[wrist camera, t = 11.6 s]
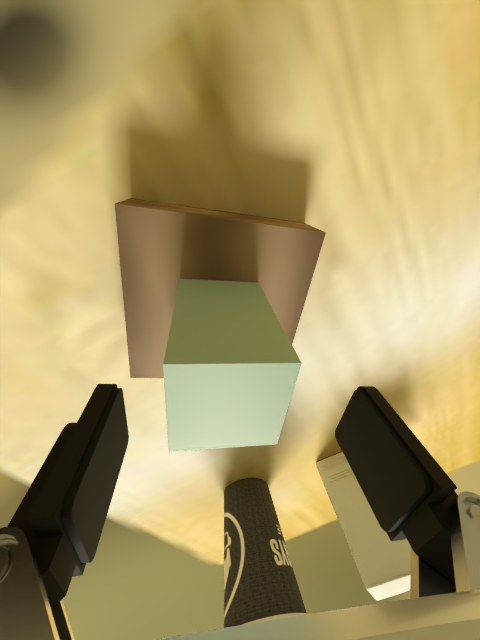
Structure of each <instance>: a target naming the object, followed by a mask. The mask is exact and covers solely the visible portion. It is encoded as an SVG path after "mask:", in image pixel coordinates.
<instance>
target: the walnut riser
mask: <svg viewBox="0 0 480 640" xmlns="http://www.w3.org/2000/svg"><path fill="white" fill-rule="evenodd" d="M115 211H116V222H117V233H118V244H119V255H120V266H121V277H122V288H123V299H124V310H125V321H126V332H127V343H128V354H129V365H130V376H131V378H164V371H163V362H164V357H165V352H166V347H167V342H168V336H169V331H170V326H171V321H172V316H173V310H174V305H175V300H176V295H177V290H178V284H179V279H198V280H218V281H238V282H258V283H259V285H260V286H261V288H262V290H263V292H264V294H265V296H266V298H267V300H268V301H269V303H270V305H271V307H272V309H273V311H274V313H275V314H276V316H277V318H278V320H279V322H280V324H281V326H282V328H283V329H284V331H285V333H286V335H287V337H288V339H289V341H290V343H291V344H292V343H293V339H294V336H295V333H296V329H297V326H298V323H299V319H300V316H301V313H302V310H303V306H304V303H305V300H306V296H307V293H308V290H309V286H310V283H311V280H312V276H313V273H314V270H315V266H316V263H317V260H318V257H319V253H320V250H321V247H322V243H323V240H324V237H325V232H323V231H321V230H319V229H316V228H314V227H312V226H310V225H307V224H305V223H299V222H292V221H285V220H278V219H271V218H264V217H257V216H250V215H243V214H236V213H229V212H223V211H216V210H209V209H202V208H195V207H188V206H181V205H174V204H167V203H160V202H153V201H146V200H139V199H132V198H131V199H128V200H125V201H122V202H118V203H115Z"/></svg>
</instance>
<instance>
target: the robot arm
mask: <svg viewBox="0 0 480 640" xmlns="http://www.w3.org/2000/svg"><path fill="white" fill-rule="evenodd" d="M335 436H336V439H337V441H338V443H339V445H340V447H341V449H342V451H343V453H344V455H345V457H346V459H347V461H348V463H349V465H350V467H351V469H352V471H353V473H354V475H355V477H356V479H357V481H358V483H359V485H360V487H361V489H362V491H363V493H364V495H365V497H366V499H367V501H368V503H369V505H370V507H371V509H372V511H373V513H374V515H375V517H376V519H377V521H378V523H379V525H380V527H381V528H382V529H383V530H384V531H385V532H386V533H387V535H388V537H389V538H390V540H391V541H399V540H405V539H407V540H408V542H409V544H410V546H411V578H410V599H406V600H399V601H393V602H386V603H380V604H373V605H367V606H359V607H353V608H347V609H340V610H334V611H328V612H321V613H315V614H308V615H302V616H295V617H289V618H283V619H276V620H270V621H264V622H257V623H251V624H245V625H239V626H233V627H226V628H220V629H214V630H208V631H202V632H196V633H190V634H183V635H177V636H171V637H166V638H160V639H155V640H480V496H479V495H477V494H474V493H471V492H462V493H460V494H459V495H457V494H456V492H455V491H454V490H455V489H456V488H457V487H456V485H455V484H454V483H453V482H452V481H451V479H450V478H449V477H448V475H447V474H446V473H445V472H444V471H443V469H442V468H441V467H440V466H439V464H438V463H437V462H436V461H435V460H434V458H433V457H432V456H431V455H430V453H429V452H428V451H427V450H426V449H425V447H424V446H423V445H422V444H421V442H420V441H419V440H418V439H417V438H416V436H415V435H414V434H413V433H412V431H411V430H410V429H409V428H408V427H407V425H406V424H405V423H404V422H403V420H402V419H401V418H400V417H399V415H398V414H397V413H396V412H395V411H394V409H393V408H392V407H391V406H390V404H389V403H388V402H387V401H386V400H385V398H384V397H383V396H382V395H381V393H380V392H379V391H378V390H377V389H376V388H375V387H367V386H360V387H358V388H357V390H355V391H354V393H353V395H352V397H351V399H350V401H349V403H348V405H347V407H346V409H345V411H344V414H343V416H342V418H341V420H340V422H339V424H338V426H337V428H336V431H335ZM128 438H129V435H128V427H127V420H126V413H125V405H124V398H123V391H122V388H117V385H116V384H98V385H97V387H96V388H95V390H94V392H93V394H92V396H91V398H90V400H89V401H88V403H87V405H86V407H85V409H84V411H83V413H82V415H81V417H80V418H79V420H78V422H77V423H69V424H67V425H66V426H65V427H64V429H63V430H62V432H61V434H60V435H59V437H58V439H57V441H56V442H55V444H54V446H53V448H52V449H51V451H50V453H49V455H48V456H47V458H46V460H45V462H44V463H43V465H42V467H41V469H40V470H39V472H38V474H37V476H36V477H35V479H34V481H33V483H32V484H31V486H30V488H29V490H28V492H27V493H26V495H25V497H24V499H23V500H22V502H21V504H20V505H19V507H18V509H17V511H16V513H15V514H14V516H13V518H12V519H11V521H10V523H9V525H8V526H7V527H2V528H0V640H74V636H73V633H72V630H71V627H70V624H69V620H68V617H67V614H66V611H65V608H64V605H63V601H62V599H63V598H64V597H65V596H66V593H67V590H68V587H69V584H70V581H71V578H72V576H81V575H82V574H83V572H84V568H85V565H86V563H90V562H92V560H93V558H94V556H95V553H96V550H97V546H98V543H99V540H100V536H101V533H102V529H103V526H104V522H105V519H106V516H107V513H108V509H109V506H110V502H111V499H112V496H113V492H114V489H115V485H116V482H117V479H118V475H119V472H120V468H121V465H122V462H123V458H124V455H125V452H126V448H127V445H128Z"/></svg>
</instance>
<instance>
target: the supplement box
mask: <svg viewBox="0 0 480 640" xmlns="http://www.w3.org/2000/svg"><path fill="white" fill-rule="evenodd" d="M316 466H317V468H318V471H319V473H320V476H321V478H322V481H323V483H324V486H325V488H326V491H327V493H328V495H329V498H330V500H331V503H332V505H333V508H334V510H335V513H336V515H337V518H338V520H339V522H340V525H341V527H342V530H343V532H344V535H345V537H346V540H347V542H348V544H349V547H350V550H351V552H352V554H353V557H354V560H355V562H356V564H357V567H358V570H359V572H360V575H361V577H362V579H363V582H364V585H365V587H366V589H367V590H368V591H369V593H370V594H371V595H372V596H373V597H374V598H375V600H376V601H377V600H381V599H385V598H388V597H391V596H394V595H397V594H400V593H403V592H406V591H408V590H410V578H411V546H410V544H409V542H408V540H407V539H405V540H399V541H391V540H390V538H389V537H388V535H387V533H386V532H385V531H384V530H383V529H382V528H381V527H380V525H379V523H378V521H377V519H376V517H375V515H374V513H373V511H372V509H371V507H370V505H369V503H368V501H367V499H366V497H365V495H364V493H363V491H362V489H361V487H360V485H359V483H358V481H357V479H356V477H355V475H354V473H353V471H352V469H351V467H350V465H349V463H348V461H347V459H346V457H345V455H344V453H343V452H341V453H338V454H335V455H333V456H330V457H328V458H326V459H323V460H320V461H318V462H317V463H316Z"/></svg>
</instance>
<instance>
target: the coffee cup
mask: <svg viewBox="0 0 480 640" xmlns="http://www.w3.org/2000/svg"><path fill="white" fill-rule="evenodd" d="M302 615H308V614H307V613H306V610H305V607H304V604H303V600H302V597H301V594H300V590H299V587H298V584H297V581H296V578H295V574H294V571H293V568H292V564H291V561H290V558H289V554H288V551H287V548H286V544H285V541H284V538H283V534H282V531H281V528H280V525H279V521H278V518H277V515H276V511H275V508H274V505H273V501H272V498H271V495H270V491H269V488H268V485H267V483H266V482H265V481H263V480H261V479H255V478H250V479H243V480H240V481H237V482H235V483H233V484H231V485H230V486H228V487H227V489H226V490H225V492H224V628H226V627H233V626H239V625H245V624H251V623H257V622H264V621H270V620H276V619H283V618H289V617H295V616H302Z"/></svg>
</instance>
